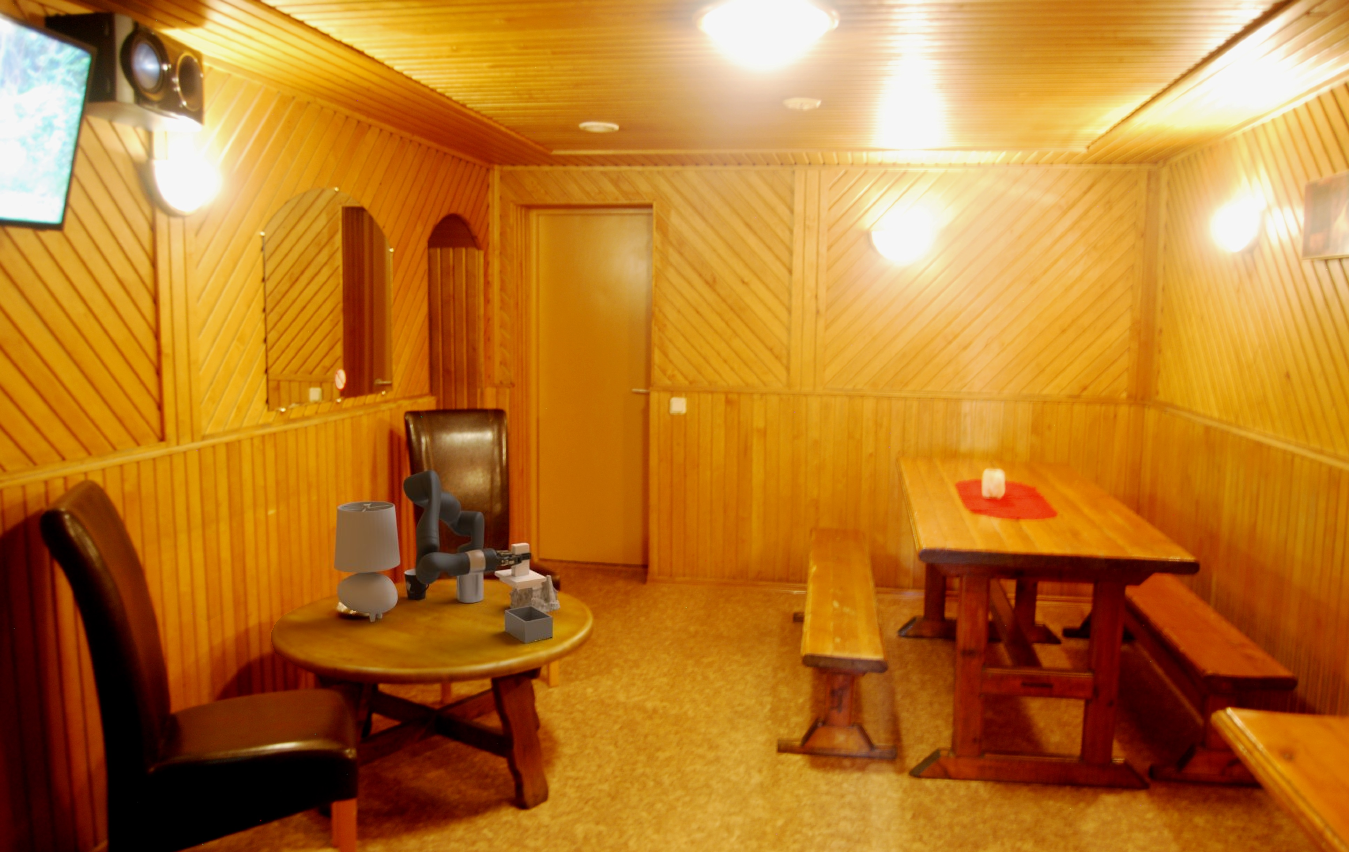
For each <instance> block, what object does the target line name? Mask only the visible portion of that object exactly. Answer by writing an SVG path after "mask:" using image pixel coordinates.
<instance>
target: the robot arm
mask: <svg viewBox="0 0 1349 852" xmlns="http://www.w3.org/2000/svg"><path fill="white" fill-rule="evenodd" d="M402 489H403V492H404V494H405V496H406V498H408V500H409V501H410V502H411V503H413V504H415V505H417V506H419V507H421V508H423V509H424V511H423V512H422V515H421V516H420V518H419V520H418V523H417V526H416V528H415V529H416V530H415V543H416V557H415V564H414V565H415V567H414V569H415V573H416V577H417V579H418V580H419V581H420V582H421V583H423V584H427V586H428V584H429V585H431V584H434V582H436V581H437V580H438V578H439V576H440V574H441V573H443V572H447V575H449V576H451V577H456V599H457V601H458V602H460V603H468V604H472V603H479V602H482V601H483V600H484V573H485V574H486V573H492V572H495V571H497V568H498V566H500V567H504V566H507V565H508V567H510V568H511V566H514V565H517V564H520V563H522V561H523V560H529V561H530V560H531V559H532V553H531V552H530V551H529V553H522V554H520V553H519V554H514V553H511V549H505V550H504V549H503V550H501V549H499V550H498V549H497V550H495V549H493V548H492V547H489V548H488V547H487V548H484V543H485V539H484V538H485V517H484V514H483V513H482V512H481V511H472V510H462V506H461V503H460V501H459V500H458V498H456V496H454V495H453V494H452V493H450V492H447V491H445V490H442V483H441V479H440V477H439V474H437V472H436V471H435V470H434V469H429V470H424V471H421V472H417V473H415V474H411V475H408V476H407V477H406V478H405V479H404V480H403V484H402ZM439 521H442V522H443V523H444V524H446V525H447V526H448V527H449V529H450V530H451V531H452V532H453V533H454V534H455V535H456V536H459V537H470V538H471V540H470V541H469V542H468V543H464V544H461V545H459V546H458V547H457V549H456V551H457V552H456V553H449V552H448V553H447V552H439V550H440V533H439V532H440V531H439Z"/></svg>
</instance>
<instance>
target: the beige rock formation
mask: <svg viewBox="0 0 1349 852" xmlns="http://www.w3.org/2000/svg"><path fill="white" fill-rule="evenodd" d="M545 577H546V578H547V581H545V582H541V586H537V587H531V588H525V589H519V590H518V589H516V588H514V587H512V589H511V590H510V592H509V594H508V595H509V596H510V603H509V608H510V609H516V608H521V607H527V606H533V607H535V608H537V609H539V610H541V611H543V612H544V613H546V614H547V613H550V611H551V612H554V611H553V610H555V611H557V610H560V609H561V605H560V601H559V600H558V592H559V591H558V590H556V588H555V587H554V585H553V582H552V576H551V575H548V574H547V575H546V576H545ZM559 608H560V609H559Z"/></svg>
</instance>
